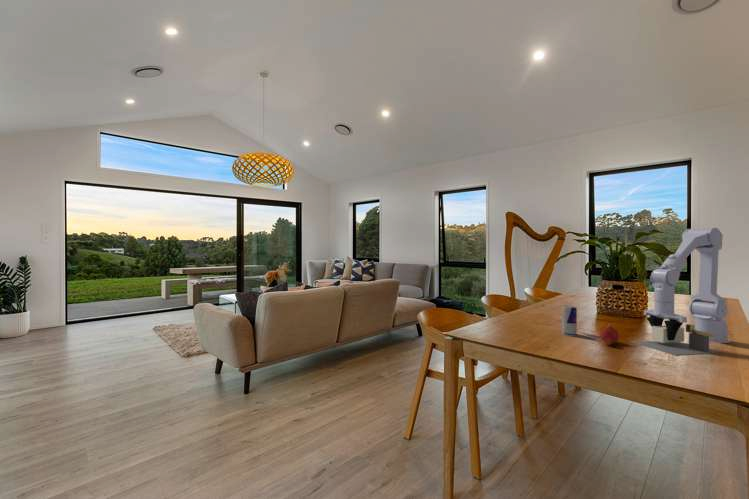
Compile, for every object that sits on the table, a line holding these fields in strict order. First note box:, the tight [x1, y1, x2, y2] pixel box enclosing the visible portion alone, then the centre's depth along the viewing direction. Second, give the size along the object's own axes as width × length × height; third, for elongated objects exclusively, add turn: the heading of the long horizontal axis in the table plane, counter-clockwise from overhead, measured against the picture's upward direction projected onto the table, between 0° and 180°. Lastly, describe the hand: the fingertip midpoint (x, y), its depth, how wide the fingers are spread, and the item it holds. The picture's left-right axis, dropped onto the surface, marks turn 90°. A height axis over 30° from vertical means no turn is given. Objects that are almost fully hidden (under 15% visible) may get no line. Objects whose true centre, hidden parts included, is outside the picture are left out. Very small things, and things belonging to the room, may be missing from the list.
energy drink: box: [561, 304, 578, 337], centre depth 146 cm, size 5×5×12 cm
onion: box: [599, 323, 620, 346], centre depth 131 cm, size 6×6×8 cm
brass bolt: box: [685, 323, 715, 337], centre depth 122 cm, size 2×8×3 cm, turn 10°
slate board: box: [629, 332, 721, 357], centre depth 126 cm, size 18×18×6 cm
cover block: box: [651, 324, 685, 343], centre depth 130 cm, size 9×4×5 cm, turn 100°
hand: (664, 338), depth 129 cm, fingers closed on cover block, 4 cm apart
